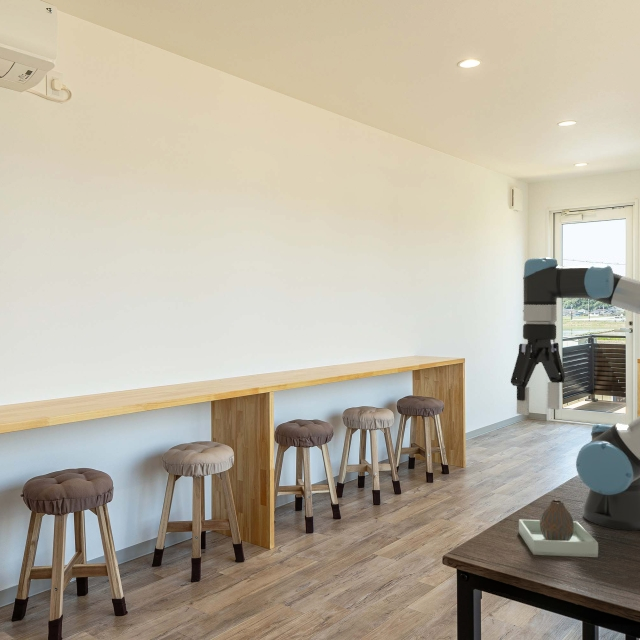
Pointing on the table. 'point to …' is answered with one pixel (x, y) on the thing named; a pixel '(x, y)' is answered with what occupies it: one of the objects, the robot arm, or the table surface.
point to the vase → (556, 522)
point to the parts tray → (576, 546)
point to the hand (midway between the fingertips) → (538, 411)
